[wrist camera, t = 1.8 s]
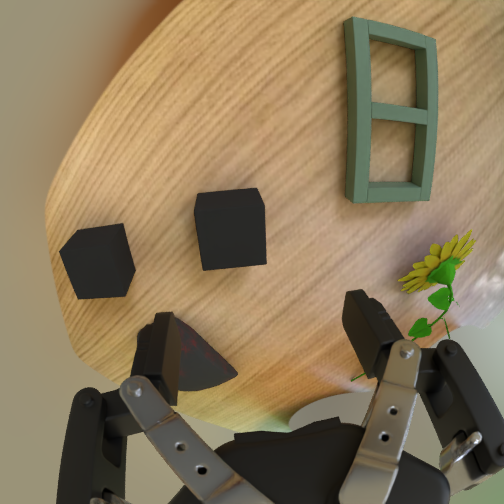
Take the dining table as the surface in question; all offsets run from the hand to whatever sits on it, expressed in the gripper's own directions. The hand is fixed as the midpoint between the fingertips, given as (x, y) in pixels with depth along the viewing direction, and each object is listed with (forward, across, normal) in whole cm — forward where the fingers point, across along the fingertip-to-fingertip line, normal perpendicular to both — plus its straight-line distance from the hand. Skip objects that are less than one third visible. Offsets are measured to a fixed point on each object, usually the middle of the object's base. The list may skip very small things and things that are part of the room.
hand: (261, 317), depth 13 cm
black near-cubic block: (+15, +1, +1) cm, 16 cm away
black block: (+15, +14, +3) cm, 21 cm away
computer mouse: (+16, +8, +19) cm, 26 cm away
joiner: (+15, -15, -8) cm, 23 cm away
